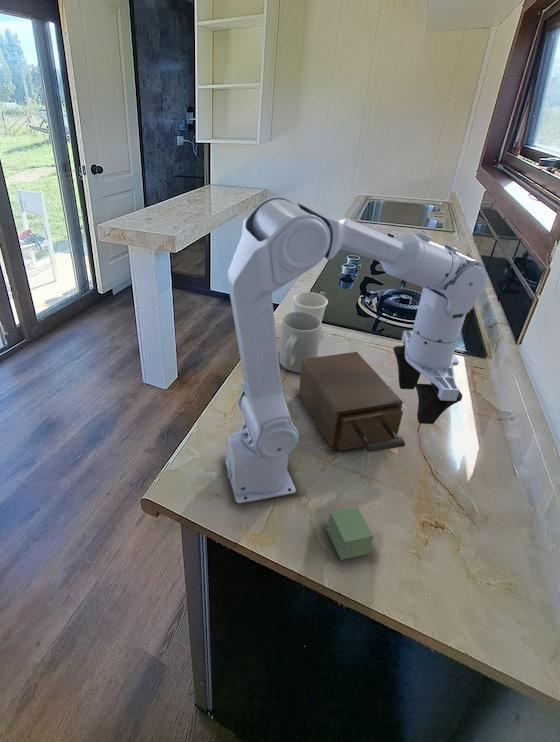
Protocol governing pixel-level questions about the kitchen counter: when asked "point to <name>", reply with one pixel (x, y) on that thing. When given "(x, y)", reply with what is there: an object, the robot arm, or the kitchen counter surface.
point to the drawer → (370, 430)
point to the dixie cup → (310, 303)
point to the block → (349, 533)
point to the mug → (299, 339)
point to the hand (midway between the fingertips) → (415, 404)
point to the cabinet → (342, 390)
